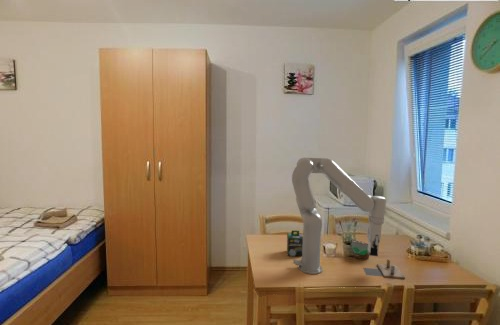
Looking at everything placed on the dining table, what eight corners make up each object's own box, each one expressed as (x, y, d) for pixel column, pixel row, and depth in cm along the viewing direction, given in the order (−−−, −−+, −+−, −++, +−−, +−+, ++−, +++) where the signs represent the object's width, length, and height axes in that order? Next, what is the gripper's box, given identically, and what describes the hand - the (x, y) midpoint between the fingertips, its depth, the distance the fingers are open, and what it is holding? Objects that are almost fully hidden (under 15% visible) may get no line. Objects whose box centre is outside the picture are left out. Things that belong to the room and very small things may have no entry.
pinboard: (384, 277, 159) (384, 267, 159) (376, 265, 174) (377, 256, 174) (404, 279, 158) (405, 269, 157) (395, 267, 173) (396, 258, 172)
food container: (346, 256, 187) (347, 240, 186) (351, 254, 191) (351, 238, 190) (366, 262, 178) (367, 245, 177) (371, 259, 183) (372, 243, 182)
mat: (366, 275, 162) (366, 274, 162) (362, 268, 170) (362, 267, 170) (384, 276, 160) (384, 276, 160) (380, 269, 169) (380, 269, 169)
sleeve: (369, 255, 163) (370, 242, 162) (367, 252, 167) (368, 239, 166) (377, 256, 162) (379, 243, 161) (375, 253, 166) (377, 240, 166)
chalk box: (301, 251, 194) (302, 228, 193) (302, 257, 185) (303, 232, 183) (286, 250, 194) (287, 227, 193) (287, 256, 185) (288, 232, 184)
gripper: (365, 215, 172) (361, 247, 173) (372, 223, 155) (368, 258, 157) (379, 216, 171) (375, 248, 172) (388, 224, 154) (384, 260, 156)
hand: (372, 253), depth 164 cm, fingers closed on sleeve, 4 cm apart
